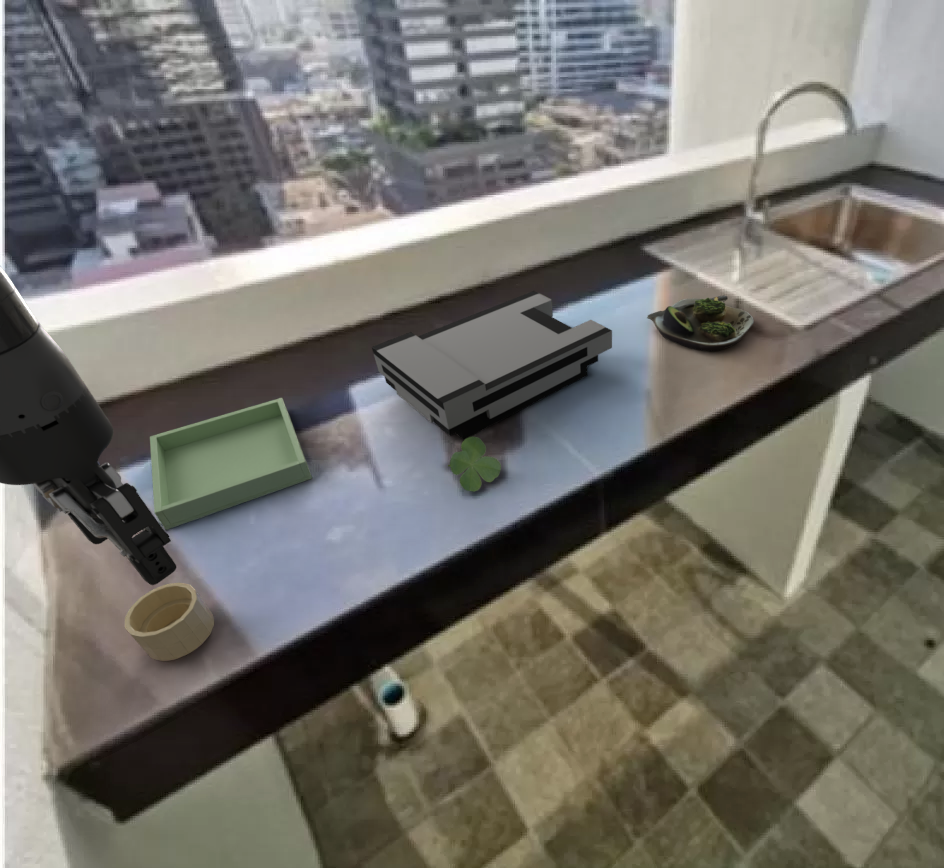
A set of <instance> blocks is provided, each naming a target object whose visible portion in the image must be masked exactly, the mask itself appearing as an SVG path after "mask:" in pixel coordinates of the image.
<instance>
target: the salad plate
mask: <svg viewBox="0 0 944 868" xmlns="http://www.w3.org/2000/svg"><path fill="white" fill-rule="evenodd" d="M726 301H728V296H727V295H718V296H714V297H710V298H709V297H706V298H697V297H696V298H693V297H692V298H684V299H681V300H678V301H677V302H675V303H674V304H673V305H669V306H667V307H666V308H665V309H664V310H658V311H654V312H651V313H650V314H647V317H646V319H649V320H650V321H652V322H653V324H654V326H655V328H656V330H657V331H658V333H659V334H660V335H661V337H663V338H664V339H666V340H668V341H669V342H673V343H675V344H677V345H680V346H683V347H685V348H689V349H692V350H695V351H702V352H719V351H723V350H725V349H728V348H730V347H733V346H734V345H736V344H737V343H739V342H740V341H741V340H742V337H744V336H745V335H746V334H747V333H748V331H749V330H750V329H751V327H752V326H753V325H754V317H753V316H752V315H751V314H750V313H749V312H748V311H746V310H744V309H741V308H737V307H732V306H729V305H726V303H725V302H726Z"/></svg>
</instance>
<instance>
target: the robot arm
mask: <svg viewBox="0 0 944 868" xmlns="http://www.w3.org/2000/svg"><path fill="white" fill-rule="evenodd" d="M113 436H114V427H113V424H112V423H111V421H110V420H109V418H108V416H107V415H106V413H105V412H104V410H103V409H102V408H101V406H100V404H99V402H98V401H97V400H96V398H95V397H94V395H93V394H92V393H91V391H90V388H89V387H88V386H87V385H86V383H85V381H83V379H82V377H81V375H79V372H78V371H77V369H75V367H74V365H73V363H72V362H71V361H70V358H68V356H67V355H66V353H65V351H64V350H63V349H62V348H61V346H59V344H58V343H57V342H56V341H55V339H54V338H53V337H52V336H51V335H50V334H49V333H48V332H47V330H45V329H44V327H43V326H42V325H41V323H40V321H39V320H38V319H37V317H36V316H35V314H34V313H33V311H32V310H31V308H30V307H29V306H28V304H27V303H26V301H25V299H24V298H23V295H22V294H21V293H20V292H19V290H18V289H17V287H16V285H15V284H14V282H13V281H12V280H11V278H10V277H9V275H8V274H7V272H6V270H4V269H3V267H2V266H1V265H0V484H4V485H9V486H27V485H32V486H33V487H34V488H35V489H36V490H37V491H38V492H39V493H40V496H41V497H42V498H44V499H45V500H46V501H47V502H48V503H49V504H50V505H51V506H52V507H53V508H54V509H57V510H58V511H59V512H62V513H63V514H65V515H68V517H69V518H70V519H71V521H72V522H73V523H74V524H75V526H76V527H77V528H78V529H79V530H80V532H82V534H83V536H84V537H85V538H86V539H87V540H88V541H89V542H90V543H92V544H93V545H100V544H102V543H104V542H105V541H107V540H109V541H110V542H111V543H112V544H113V545H114V546H115V547H116V548H117V549H118V550H119V554H120V555H121V556H122V557H124V558H126V559H127V560H128V561H129V562H130V564H131V565H132V567H133V568H134V569H135V571H136V572H137V573H138V574H139V575H140V576H141V578H142V580H144V582H146V583H147V584H149V585H150V586H155V585H158V584H159V583H161V582H162V581H163V580H165V579H166V578H168V577H169V576H170V575H172V574H173V573H174V572H175V571H176V570H177V564H176V563H175V561H174V559H173V558H172V557H171V555H170V554H169V553H168V551H167V550H166V548H165V547H164V546H166V545H168V544H169V543H171V542H172V541H171V538H170V535H169V534H168V533H167V532H166V530H165V529H164V527H163V526H162V524H160V522H159V520H158V519H157V517H155V515H154V514H153V513H152V511H151V510H150V508H149V507H148V506H147V504H146V503H145V501H144V500H143V499H142V496H140V494H139V493H138V489H137V488H136V487H135V486H134V485H131V484H130V483H129V482H125V483H123V482H122V476H121V475H120V473H118V471H117V470H116V469H115V468H114V467H113V466H112V465H111V464H110V463H109V462H104V463H102V464H101V463H100V461H99V459H100V457H101V455H102V454H103V452H104V451H105V449H107V448H108V446H109V445H110V443H112V439H113Z"/></svg>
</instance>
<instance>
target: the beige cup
mask: <svg viewBox="0 0 944 868" xmlns="http://www.w3.org/2000/svg"><path fill="white" fill-rule="evenodd" d="M214 617H215V616H214V614H213V612H212V611H211V610H210V609H209V607H208V605H207V604H206V602H205V601H204V600H203V598H202V596H201V595H200V594H199V593H198V591H197V590H196V588H194V587H193V586H192V585H191V584H190V583H189V584H188V583H184V582H173V583H172V582H171V583H167V584H163V585H160V586H158V587H155V588H153V589H151V590H150V591H148V592H147V593H145V594H143V595H142V596H140V597H139V598H138V599H137V600H136V602H134V604H132V605H131V606H130V607H129V609H128V611H127V613H126V615H125V616H124V629H125V630H126V631H127V632H128V634H129V635H130V636H131V637H132V638H133V639H134V640H135V642H136V643H137V644H138V645H139V646H140V647H141V649H142V650H143V651H144V652H145V653H146V654H147V656H149V658H150V659H152V660H156V661H160V662H167V661H174V660H178V659H180V658H182V657H186V655H189V654H191V653H192V652H194V651H196V650H197V649H198V648H199V647H200V646H202V645H203V644H204V642H205V641H206V640H207V639H208V637H209V636H211V634H212V631H213V629H214V626H215V618H214Z"/></svg>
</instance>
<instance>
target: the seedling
mask: <svg viewBox="0 0 944 868" xmlns="http://www.w3.org/2000/svg"><path fill="white" fill-rule="evenodd" d="M460 449H461V451H455V452H454V453H452V454H451V457H450V460H449V464H448V465H447V467H450V471H451V473H452V474H453V475H455V476H459V475H460V478H459V484H460V486H461V488H463V490H464V491H467V492H477V491H479V490H480V489H481V487H482V479H483V481H485V482H486V483H492V482H493V481H494V480H495V479H497V478H498V477H499V475H500V473H501V470H502V464H501V462H500V461H499V460H498V458H496V457H494V456H487V455H486V456H485V454H486V453H487V452H486V451H487V446H486V445H485V443H484V441H483V440H482V439H481V438H480V437H478V436H470V437H468V438H466V439H464V440H463V441H462V442H461V445H460ZM481 478H482V479H481Z"/></svg>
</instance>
